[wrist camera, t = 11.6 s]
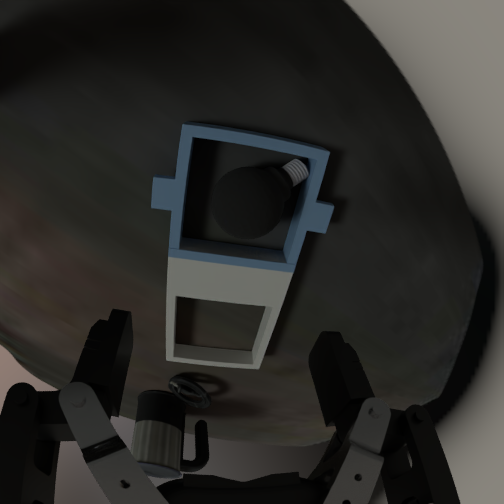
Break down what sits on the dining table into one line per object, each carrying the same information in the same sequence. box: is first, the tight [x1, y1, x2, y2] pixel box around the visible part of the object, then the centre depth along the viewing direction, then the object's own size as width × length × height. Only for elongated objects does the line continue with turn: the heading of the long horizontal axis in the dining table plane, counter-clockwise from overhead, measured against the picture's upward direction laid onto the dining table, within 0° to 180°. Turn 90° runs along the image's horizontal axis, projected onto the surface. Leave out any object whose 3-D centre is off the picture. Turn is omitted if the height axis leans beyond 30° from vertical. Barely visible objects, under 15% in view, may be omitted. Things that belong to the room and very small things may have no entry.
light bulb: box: [211, 159, 309, 239], centre depth 26 cm, size 6×6×10 cm
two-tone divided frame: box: [151, 121, 334, 369], centre depth 32 cm, size 17×30×3 cm, turn 169°
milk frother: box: [131, 376, 211, 479], centre depth 40 cm, size 14×16×15 cm
